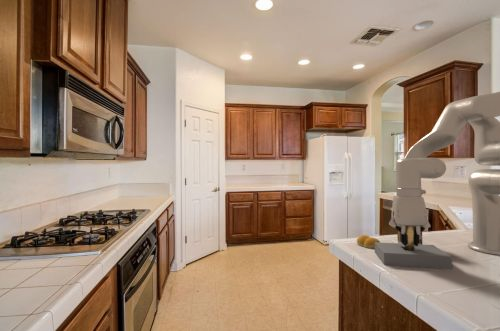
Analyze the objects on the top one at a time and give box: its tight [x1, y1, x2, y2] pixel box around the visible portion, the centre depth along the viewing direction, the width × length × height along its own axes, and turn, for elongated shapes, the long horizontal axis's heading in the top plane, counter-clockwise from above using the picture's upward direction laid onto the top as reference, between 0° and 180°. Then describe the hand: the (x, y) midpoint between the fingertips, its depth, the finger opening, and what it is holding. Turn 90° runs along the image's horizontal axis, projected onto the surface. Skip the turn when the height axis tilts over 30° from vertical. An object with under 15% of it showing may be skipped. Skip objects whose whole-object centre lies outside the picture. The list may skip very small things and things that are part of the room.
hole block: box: [374, 241, 453, 270], centre depth 88 cm, size 20×12×4 cm, turn 77°
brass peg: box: [405, 225, 415, 251], centre depth 88 cm, size 3×3×10 cm
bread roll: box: [356, 234, 381, 249], centre depth 105 cm, size 8×9×4 cm
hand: (409, 244), depth 88 cm, fingers closed on brass peg, 2 cm apart
